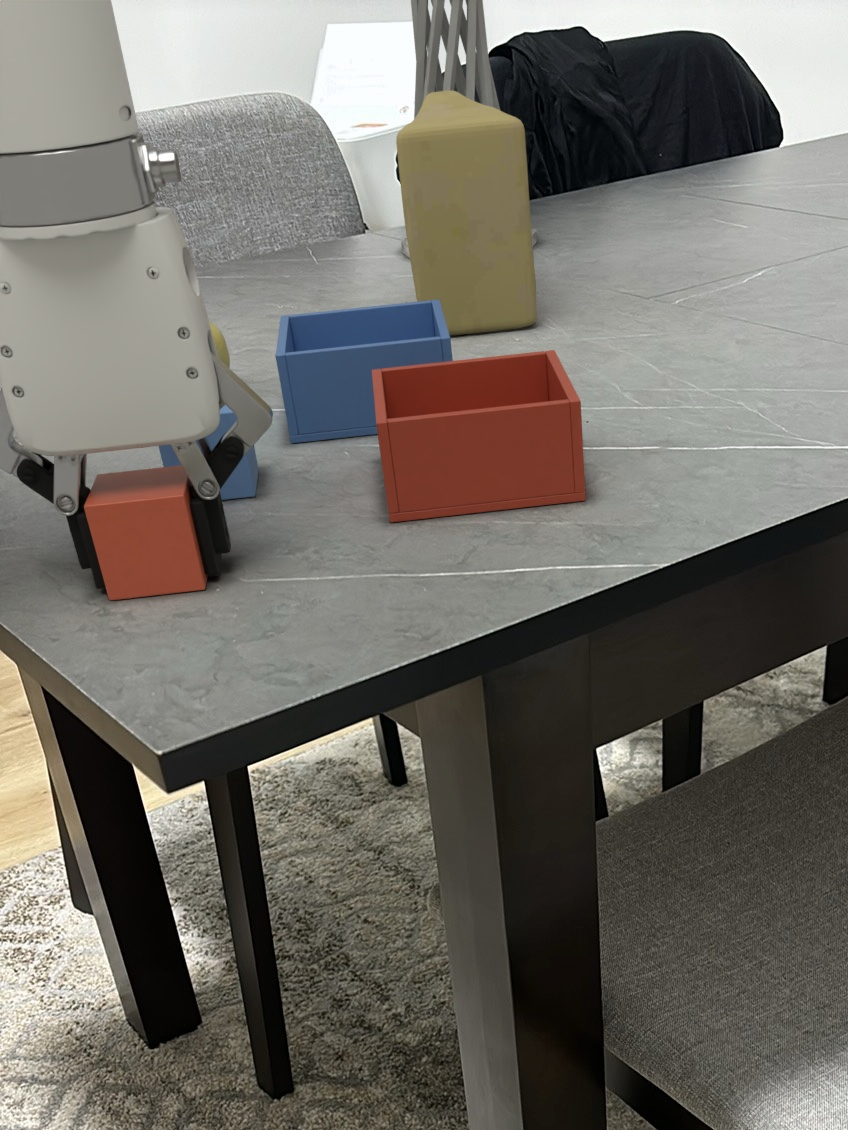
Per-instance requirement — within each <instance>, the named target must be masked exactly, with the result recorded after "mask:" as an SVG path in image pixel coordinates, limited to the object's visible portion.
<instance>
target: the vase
mask: <svg viewBox="0 0 848 1130" xmlns="http://www.w3.org/2000/svg"><path fill="white" fill-rule="evenodd" d="M464 1H465V4H466V14H465V10H464V7H463V6H464V5H463V4H464ZM430 2H431V6H432V10H431V15H430V11H429V0H410V7H411V17H412V28H413V40H414V53H415V85H414V86H415V88H414V112H413V113H414V114H413V120H414V119H415V117H416V115H417V114H418V112H419V111H420V109H421V106H422V104H423V101H424V99H425V97H426V96H427V95H428V94H429V93H432V92H440V91H455V88H456V90H457V91H456V92H458V93H460V94H462V95H463V96H465V97H467V98H469V99H471V100H473V101H475V89H476V93H477V97H478V100H479V103H480V104H483V105H486V106H490V107H493V108H496V109H498V110H500V111H501V107H500V103H499V99H498V95H497V90H496V86H495V82H494V76H493V72H492V68H491V64H490V59H489V58H490V57H489V48H488V40H487V39H488V38H487V29H486V20H485V9H484V1H483V0H449V4H450V15H449V16H450V17H449V19H448V17H447V12H446V9H445V2H446V0H430ZM441 40H442V43H443V47H444V51H445V53H446V56H445V66H444V76H443V73H442V67H441V63H440V59H439V55H440V46H441ZM460 40H461V44H462V47H463V50H464V53H465V54H464V55H465V73H464V70H463V67H462V63H461V60H460V56H459V46H460V45H459V44H460ZM531 234H532V247H533V248H534V246H535V245H536V244H537V242H538V238H537V237H538V236H537V230H536V229H535V228H533V227H532V226H531ZM400 245H401V253H402V254H403V255H404V256H406V257H407V258H409V259H410V255H409V248H408V242H407V237H406V238H404V239H403V240H402V241H400Z"/></svg>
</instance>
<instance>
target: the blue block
mask: <svg viewBox="0 0 848 1130" xmlns="http://www.w3.org/2000/svg"><path fill="white" fill-rule="evenodd" d="M236 421H237V416H236V415H235V413H234V412H233V411H232V410H231V409H229V408H228V407H227V406H226V405H225V406H223V407H222V408H221V409H220V423H219V426H218V428H217V429H216V430H215V431H214V432H213V433H211V434H210V435H208V436H206V438H207V440H208V442H209V444H210V446H211V448H212V450H213V449H214V447H215V446H216V444H217V443H218V442H219V440H220V439H221V437H222V436H223V435H224V434H225V433H226V432H227V431H228V430H229V429H230V428H231V427H232V426H233V424H234V423H235V422H236ZM158 450H159V454H160V457H161V463H162V467H170V466H179V465H182V464H181V463H180V461H179V459H178V457H177V455H176V453H175V451H174V450H173V448H172V446H171V444H170V445H162V446H158ZM259 471H260V468H259V463H258V459H257V453H256V449H255V444H254V445H253V446H252V447H251V448H250V449H249V450H248V451H247V452H246V453H245V455H244V456H243V458H242V460H241V461H240V462H239V464H238V465H237V467H236V468H235V469H234V471H233V472H232V474H231V475H230V476H229V478H228V479H227V481H226V482H225V483H224V485H223V486H222V488H221V489H220V494H221V499H222V501H227V500H236V499H246V498H254V497H256V495H257V494H256V493H257V485H258V479H259V478H258V477H259Z"/></svg>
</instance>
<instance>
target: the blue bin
mask: <svg viewBox="0 0 848 1130" xmlns="http://www.w3.org/2000/svg"><path fill="white" fill-rule="evenodd" d="M448 361H454V359H453V350H452V342H451V336H450V335H449V332H448V328H447V324H446V321H445V317H444V314H443V310H442V307H441V303H440V300H439V299H437V300H428V301H418V302H417V301H409V302H400V303H390V304H381V305H372V306H371V305H370V306H361V307H352V308H343V309H333V310H324V311H315V312H305V313H297V314H295V313H294V314H286V315H280V320H279V327H278V334H277V343H276V350H275V362H276V366H277V373H278V377H279V379H278V380H279V385H280V389H281V396H282V401H283V406H284V412H285V418H286V423H287V429H288V435H289V440H290V444H299V443H300V444H301V443H308V442H317V441H319V442H320V441H327V440H337V439H344V438H346V439H347V438H354V437H356V438H357V437H365V436H372V435H378V433H377V426H376V415H375V404H374V392H373V381H372V370H374V369H382V368H391V367H401V366H410V365H419V364H429V363H438V362H448Z"/></svg>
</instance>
